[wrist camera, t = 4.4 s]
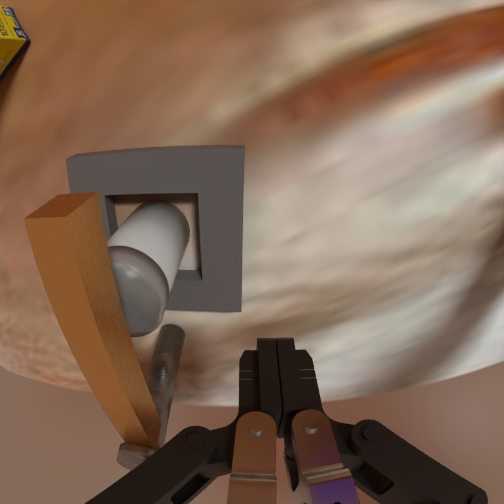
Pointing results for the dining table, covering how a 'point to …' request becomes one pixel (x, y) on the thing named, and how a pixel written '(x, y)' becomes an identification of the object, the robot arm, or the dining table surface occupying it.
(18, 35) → the supplement box
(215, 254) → the socket collar
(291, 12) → the dining table surface
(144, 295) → the plug
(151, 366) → the gate
